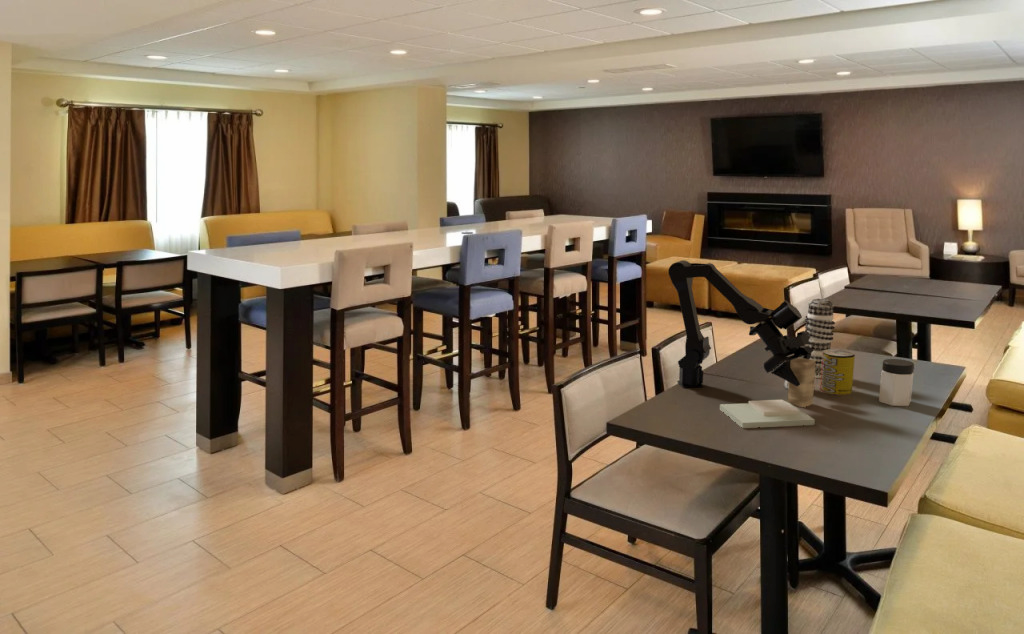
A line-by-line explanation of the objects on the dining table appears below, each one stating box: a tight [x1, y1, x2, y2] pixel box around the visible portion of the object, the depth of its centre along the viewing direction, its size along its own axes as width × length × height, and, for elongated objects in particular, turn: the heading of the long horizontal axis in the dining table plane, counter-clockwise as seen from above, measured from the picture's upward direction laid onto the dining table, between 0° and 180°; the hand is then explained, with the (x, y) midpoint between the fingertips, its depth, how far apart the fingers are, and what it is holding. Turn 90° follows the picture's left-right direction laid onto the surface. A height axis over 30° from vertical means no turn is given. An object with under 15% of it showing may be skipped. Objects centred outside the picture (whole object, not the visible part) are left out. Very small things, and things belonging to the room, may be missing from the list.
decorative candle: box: [804, 298, 836, 379], centre depth 252 cm, size 9×9×25 cm
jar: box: [878, 358, 915, 407], centre depth 224 cm, size 9×8×12 cm
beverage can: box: [819, 348, 856, 396], centre depth 236 cm, size 9×9×12 cm
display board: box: [719, 399, 816, 429], centre depth 213 cm, size 20×16×2 cm
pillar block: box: [787, 357, 816, 408], centre depth 223 cm, size 5×5×13 cm
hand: (806, 382), depth 222 cm, fingers open, 8 cm apart
